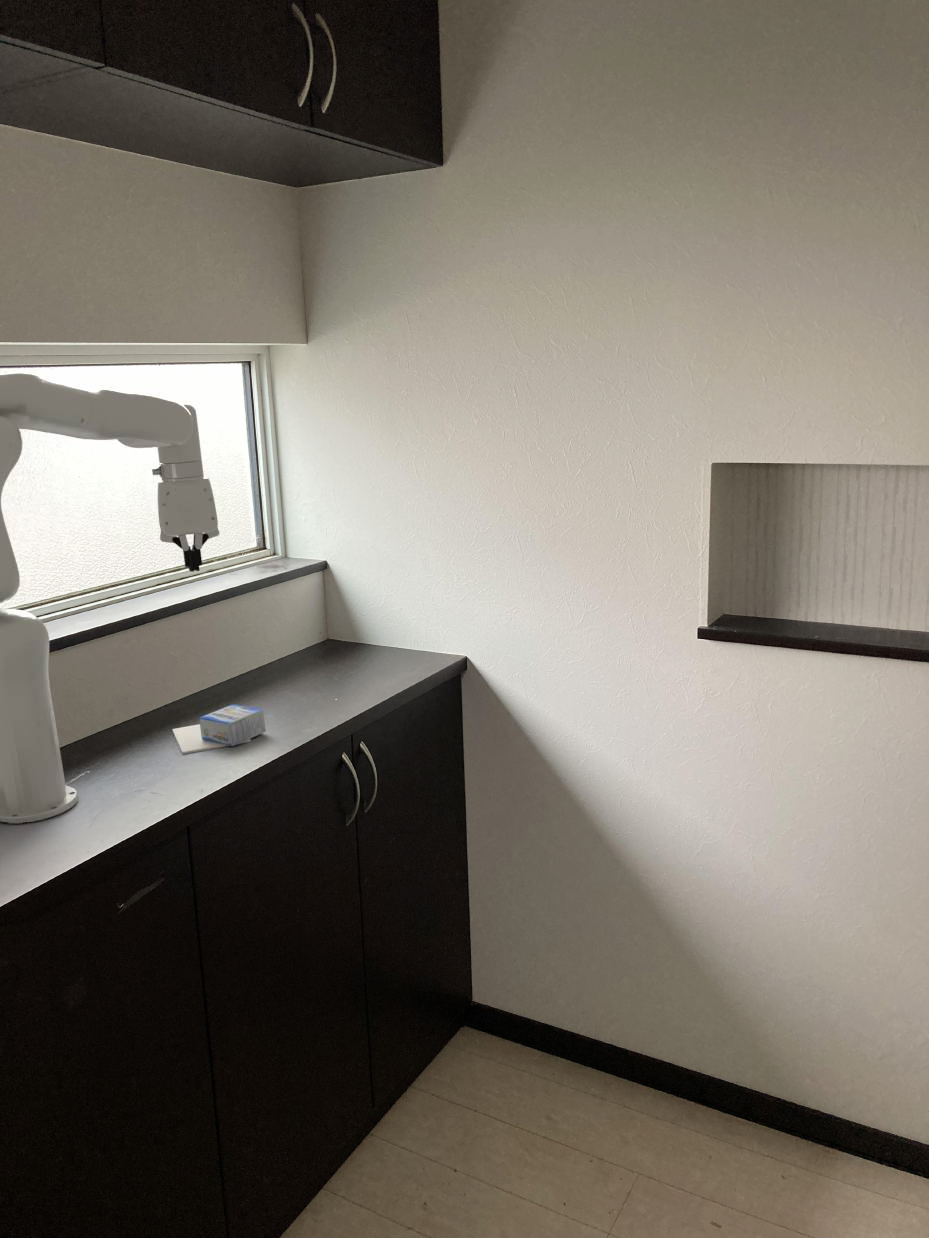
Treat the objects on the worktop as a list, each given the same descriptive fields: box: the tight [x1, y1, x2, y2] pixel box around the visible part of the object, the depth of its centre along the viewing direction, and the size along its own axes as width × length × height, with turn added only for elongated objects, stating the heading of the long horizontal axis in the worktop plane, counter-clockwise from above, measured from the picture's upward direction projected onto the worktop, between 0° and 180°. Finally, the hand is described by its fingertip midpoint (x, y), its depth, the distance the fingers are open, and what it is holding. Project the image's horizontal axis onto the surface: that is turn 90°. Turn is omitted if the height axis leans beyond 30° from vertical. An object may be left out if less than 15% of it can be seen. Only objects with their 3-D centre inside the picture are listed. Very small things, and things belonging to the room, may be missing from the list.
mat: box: [172, 723, 252, 755], centre depth 187 cm, size 12×14×1 cm
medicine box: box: [199, 703, 266, 747], centre depth 185 cm, size 8×4×9 cm
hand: (194, 570), depth 191 cm, fingers closed
